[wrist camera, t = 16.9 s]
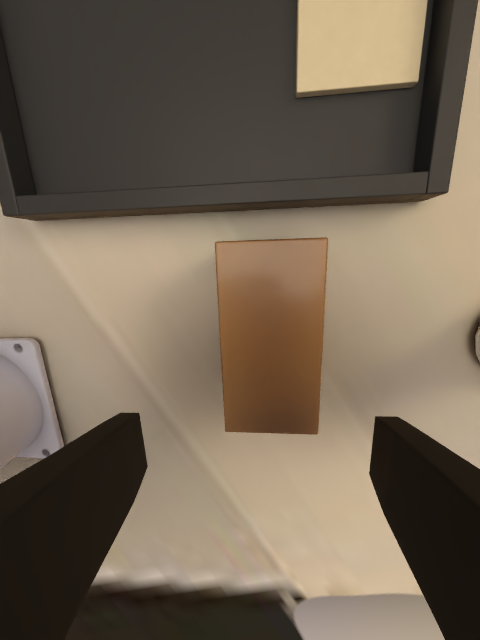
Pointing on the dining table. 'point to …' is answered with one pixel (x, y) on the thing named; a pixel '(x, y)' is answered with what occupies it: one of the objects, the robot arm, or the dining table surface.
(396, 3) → the paper scrap
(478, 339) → the rook chess piece
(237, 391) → the eraser
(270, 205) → the tray
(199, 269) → the dining table surface
